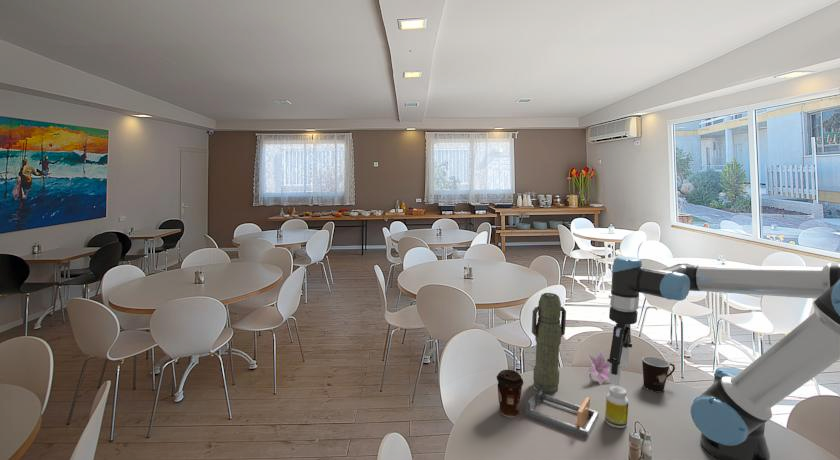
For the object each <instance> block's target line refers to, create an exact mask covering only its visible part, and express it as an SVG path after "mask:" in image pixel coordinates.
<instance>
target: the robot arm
mask: <svg viewBox="0 0 840 460" xmlns="http://www.w3.org/2000/svg"><path fill="white" fill-rule="evenodd" d="M610 288H611V289H610V292H611V293H610V294H609V295H608V298H609V299H610V303H609V305H610V307H609V316H608V317H609V318H608V319H610V320H611V321H612V322H614V323H615V326H614V327H613V329H612V339H611V345H610V346H611V347H610V351H609V358H607V359H606V361H607V362H606V363H609V364H610V369H609V380H608V383H609V384H613V385H615V386H620V379H621V368H626V369H628V367H629V359H630V358H629V355H630V348H633V344H632V339H631V335H632V334H631V325H634V324H637V322H638V309H639V301H640V294H645V295H650V296H655V297H658V298H663V299H666V300H668V301H669V300H670V301H671V300H673V301H679V302H680V301H684V300H686V299H687V297H688V295H689V293H690V291H691V292H706V293H707V292H709V293H724V294H725V293H726V294H727V293H728V294H738V295H741V294H742V295H756V296H770V297H771V296H772V297H783V298H784V297H786V298H801V299H802V298H803V299H814V301H813V302H812V304H813V308H814V311H813V313H812V314H811V315H808V317H807V318H806V319H804V321H802V322H801V323H799V324H798V325H797V326H796V327H795V328H794V329H792V330H791V331H790V332H788V333H787V334H786V335H785V336H784V337H782V338H781V339H780V340H779V341H777V342H776V343H775V344H774V345H772V346H771V347H770V348H769V349H767V350H766V351H765V352H764V353H762V355H760V356H759V357H757V358H756V359H755V360H753V362H751V363H750V364H749V365H748V366H746V367H745V368H744V369H740V368H739V369H738V368H734V367H726V366H721V367H717V368H716V369H715V371H714V373H713V376H714V379H713V383H712V384H711V385H710V386H709V387H708V388H707V389H706V390H705V391H703V393H701V394H700V395H699V396H697V397H696V398H694V400H693V403H692V404H691V406H690V415H691V419H692V421H693V423H694V425H695V427H696V428H697V429H698V430H699V431H700V444H701V447H703V449H704V450H705V451H707V453H709V454H711V456H713V457H715V458H716V459H718V460H771V453H770V451H769V447H768V444H767V439H766V437H765V429H766V423H767V422H768V421H770V420H771V419H772V417H773V412H772V408H773V407H774V406H776V405H777V404H778V403H780V402H781V401H783V400H784V399H786V398H787V397H788V396H790V395H791V394H792V393H794V392H796V391H797V390H798V389H800V388H801V387H803V386H804V385H806V384H808V382H810V381H811V380H813V379H814V378H815V377H817V376H818V375H819V374H821V373H822V372H824V371H825V370H827V369H828V368H829V367H830V366H832V365H833V364H835V363H836V362H838V361H839V360H840V262H828V264H826V265H825V266H821V267H820V266H817V267H815V266H770V265H769V266H768V265H767V266H764V265H761V266H760V265H713V264H712V265H708V264H707V265H704V264H703V265H702V264H701V265H699V264H691V263H677V264H674V265H672V266H669V267H666V268H662V269H658V268H653V267H652V268H650V267H647V266H646V267H645V266H643V263H642V260H641V259H640V258H636V257H631V256H617V257H615V258H614V259H613V265H612V270H611V287H610Z"/></svg>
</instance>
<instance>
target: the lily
mask: <svg viewBox="0 0 840 460" xmlns="http://www.w3.org/2000/svg"><path fill="white" fill-rule="evenodd" d="M587 357H588V359H589V361H590V363H591V366H590V367H589V369H588V370H587V373H588V374H589V376H591V375H595V376H597V380H598V383H599V386H601V385H602V384H603V383H604V379H606V380H607V381H609V372H610V363H609V362H606V360H605V355H604V353H603V351H602V350H601V349H600V350H599V351H598V354H597V356H596V357H593V356H591V355H589V354H588V355H587Z"/></svg>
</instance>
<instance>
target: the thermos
mask: <svg viewBox="0 0 840 460" xmlns="http://www.w3.org/2000/svg"><path fill="white" fill-rule="evenodd" d="M531 315H532V320H531V321H532V322H531V333H532V334H533V335H534V337H535V338H534V339H535V343H536V345H535V365H534V366H533V378H532V379H533V385H534V386H533V388H534V387H535V388H536V389H537V390H538V389H539V388H541V389H542V393H544V394H554V393H557V392H559V384H560V369H559V359H560V358H559V355H560V354H559V352H560V345H561V343H562V337H563V336H565V333H566V320H567V319H566V318H567V310H566V309H565V308H564V307H563V306H562V302H561V299H560V296H559V295H558V294H556V293H553V292H544V293H542V294H541V295H540V297H539V300H538V305H537V306H535V307H534V308H533V310H532V314H531ZM537 315H538V316H537ZM537 317H538V318H537ZM560 318H561V320H560ZM535 388H534V389H535ZM536 389H535V390H536ZM537 390H536V391H537Z"/></svg>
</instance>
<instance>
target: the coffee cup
mask: <svg viewBox="0 0 840 460" xmlns="http://www.w3.org/2000/svg"><path fill="white" fill-rule="evenodd" d="M496 380H497V382H498V383H497V397H498V402H499V406H498V407H499V412H500V414H501V415H502V416H503V417H506V418H510V419H511V418H513V419H514V418H516V417H517V416H519V415H520V405H521V398H522V396H521V395H522V389H523V385H524V380H523V377H522V375H521V374H519V373H518V372H517V371H516V370H513V369H503V370H501V371H499V373H497V375H496Z"/></svg>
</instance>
